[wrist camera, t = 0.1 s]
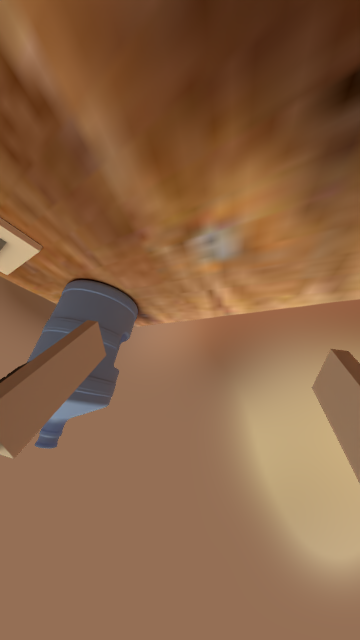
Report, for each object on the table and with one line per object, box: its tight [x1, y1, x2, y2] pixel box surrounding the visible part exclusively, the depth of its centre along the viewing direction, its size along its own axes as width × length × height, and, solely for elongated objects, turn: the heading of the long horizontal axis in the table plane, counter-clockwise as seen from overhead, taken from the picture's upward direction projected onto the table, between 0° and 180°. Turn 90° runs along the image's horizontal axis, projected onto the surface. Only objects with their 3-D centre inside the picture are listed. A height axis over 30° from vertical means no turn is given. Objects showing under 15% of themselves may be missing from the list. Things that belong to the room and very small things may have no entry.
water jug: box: [27, 280, 138, 448], centre depth 36 cm, size 16×16×28 cm
